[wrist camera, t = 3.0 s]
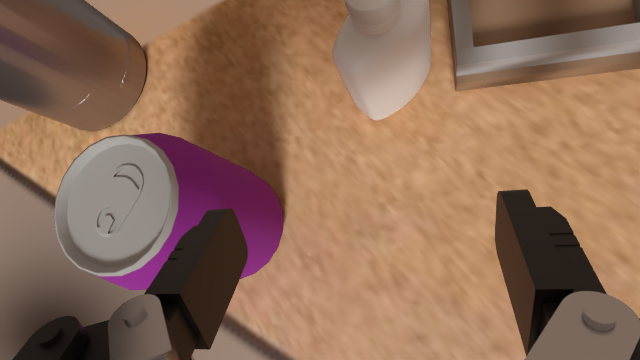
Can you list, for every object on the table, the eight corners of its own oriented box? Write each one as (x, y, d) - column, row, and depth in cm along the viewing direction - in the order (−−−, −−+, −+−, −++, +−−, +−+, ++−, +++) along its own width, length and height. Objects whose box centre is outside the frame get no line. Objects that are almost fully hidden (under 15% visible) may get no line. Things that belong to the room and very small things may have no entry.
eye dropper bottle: (345, 72, 29) (288, -49, 18) (423, 42, 28) (415, -108, 16) (363, 127, 28) (313, 36, 16) (444, 99, 27) (452, -21, 15)
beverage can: (259, 300, 28) (136, 328, 16) (173, 251, 30) (14, 247, 19) (306, 196, 28) (218, 153, 17) (217, 157, 30) (88, 96, 19)
